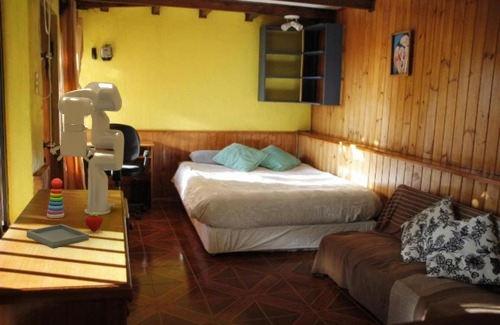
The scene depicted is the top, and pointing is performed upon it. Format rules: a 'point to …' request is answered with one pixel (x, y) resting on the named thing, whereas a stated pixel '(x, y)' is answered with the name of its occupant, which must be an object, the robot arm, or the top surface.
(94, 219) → the strawberry
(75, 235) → the tray
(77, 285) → the top surface
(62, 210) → the stacking toy
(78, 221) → the top surface
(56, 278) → the top surface
